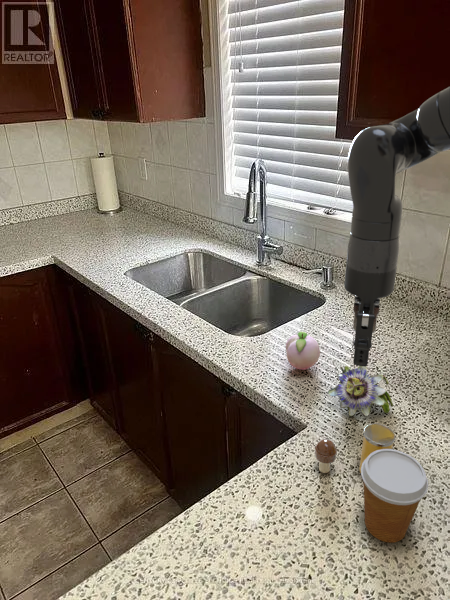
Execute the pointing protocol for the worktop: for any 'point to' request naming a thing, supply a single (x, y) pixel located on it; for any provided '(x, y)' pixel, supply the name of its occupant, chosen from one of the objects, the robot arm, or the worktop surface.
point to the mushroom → (325, 454)
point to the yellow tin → (376, 440)
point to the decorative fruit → (302, 351)
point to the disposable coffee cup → (391, 492)
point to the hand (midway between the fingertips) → (361, 351)
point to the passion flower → (360, 391)
